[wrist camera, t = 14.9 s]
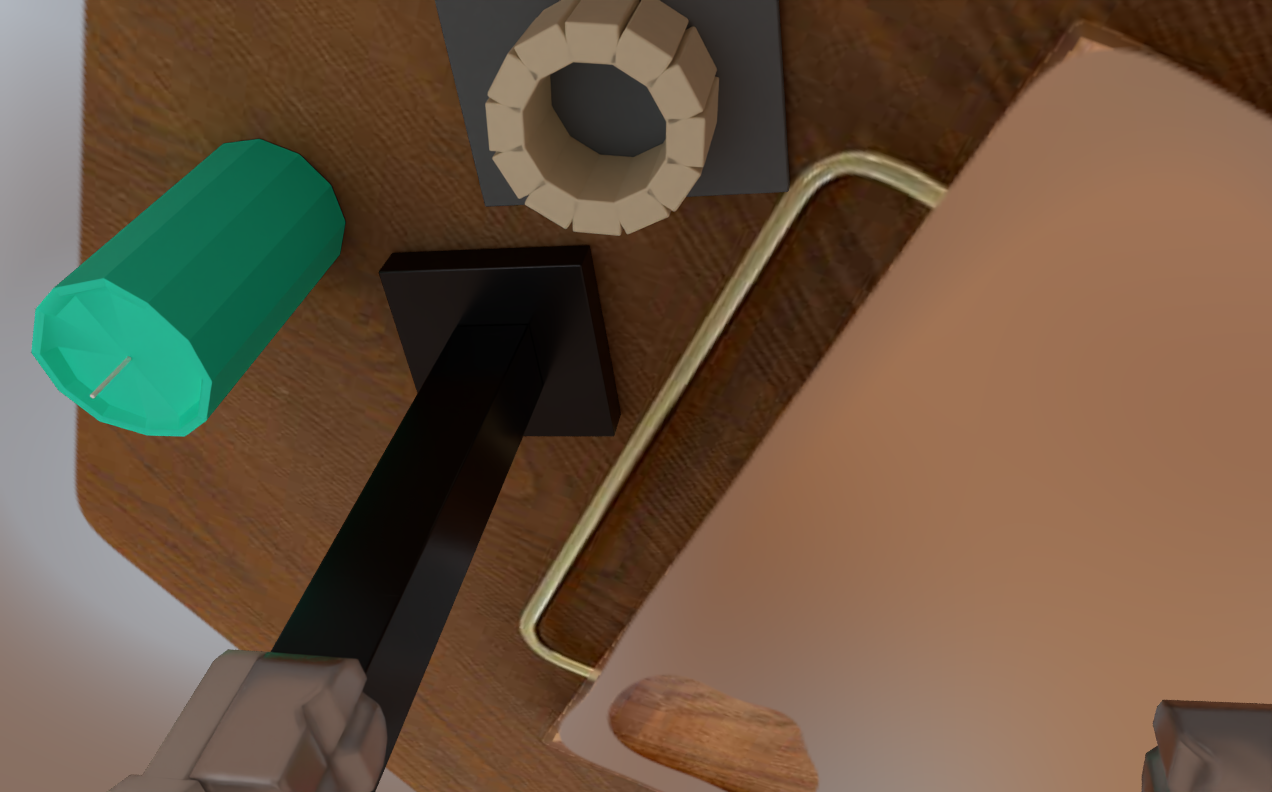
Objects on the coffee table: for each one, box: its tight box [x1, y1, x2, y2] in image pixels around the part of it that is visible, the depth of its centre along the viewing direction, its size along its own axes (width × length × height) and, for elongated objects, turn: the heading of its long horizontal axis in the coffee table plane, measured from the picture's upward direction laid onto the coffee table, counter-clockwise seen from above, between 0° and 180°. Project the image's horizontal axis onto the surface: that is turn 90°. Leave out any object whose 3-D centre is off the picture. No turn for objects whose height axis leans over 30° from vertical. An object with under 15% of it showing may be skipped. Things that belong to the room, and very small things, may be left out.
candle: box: [32, 139, 346, 436], centre depth 36 cm, size 6×6×12 cm
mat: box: [435, 0, 790, 206], centre depth 35 cm, size 10×11×1 cm
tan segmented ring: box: [485, 0, 719, 236], centre depth 34 cm, size 7×7×4 cm
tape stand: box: [271, 245, 621, 792], centre depth 30 cm, size 8×8×31 cm
